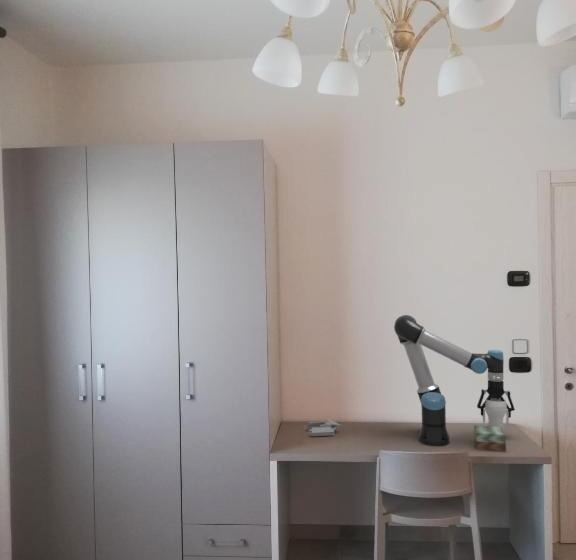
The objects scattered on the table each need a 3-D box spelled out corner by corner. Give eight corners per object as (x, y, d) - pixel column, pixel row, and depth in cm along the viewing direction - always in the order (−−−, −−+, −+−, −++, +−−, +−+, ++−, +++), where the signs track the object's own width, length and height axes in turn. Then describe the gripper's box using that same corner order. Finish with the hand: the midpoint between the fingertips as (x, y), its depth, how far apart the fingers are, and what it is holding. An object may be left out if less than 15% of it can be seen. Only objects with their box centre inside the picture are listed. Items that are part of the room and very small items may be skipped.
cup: (505, 426, 265) (505, 397, 265) (508, 432, 255) (508, 402, 255) (483, 424, 268) (483, 396, 268) (485, 430, 258) (485, 401, 258)
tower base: (476, 449, 242) (476, 433, 242) (474, 441, 254) (474, 425, 254) (505, 451, 238) (505, 434, 238) (502, 443, 251) (502, 426, 251)
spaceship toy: (303, 430, 280) (303, 419, 280) (339, 428, 282) (338, 417, 282) (307, 438, 266) (306, 426, 266) (344, 436, 268) (344, 424, 268)
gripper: (472, 380, 261) (472, 423, 261) (521, 382, 254) (521, 426, 254) (471, 377, 268) (471, 419, 268) (518, 380, 261) (518, 422, 262)
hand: (495, 422), depth 261 cm, fingers closed on cup, 11 cm apart
